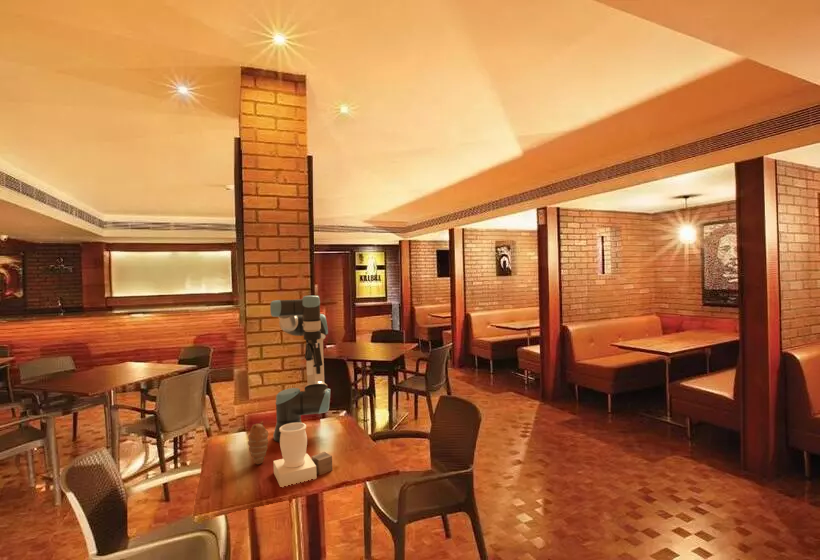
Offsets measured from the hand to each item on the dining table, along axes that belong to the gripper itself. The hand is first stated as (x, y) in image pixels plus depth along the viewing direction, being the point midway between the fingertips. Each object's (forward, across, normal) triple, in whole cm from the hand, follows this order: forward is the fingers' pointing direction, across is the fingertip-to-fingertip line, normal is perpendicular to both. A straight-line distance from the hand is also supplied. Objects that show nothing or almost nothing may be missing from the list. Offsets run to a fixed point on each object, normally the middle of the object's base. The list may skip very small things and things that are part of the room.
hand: (313, 377), depth 193 cm
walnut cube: (+35, +16, -2) cm, 38 cm away
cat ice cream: (+35, -4, -24) cm, 43 cm away
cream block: (+35, +15, -13) cm, 40 cm away
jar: (+30, +15, -13) cm, 36 cm away
